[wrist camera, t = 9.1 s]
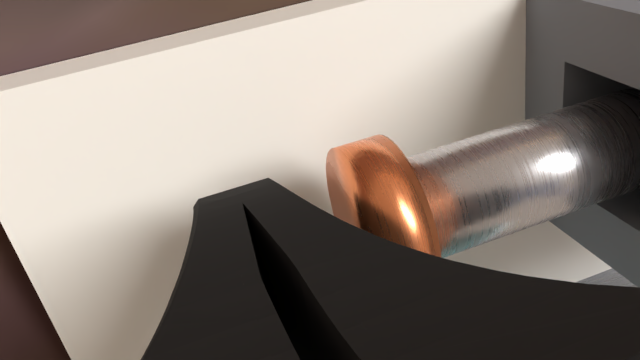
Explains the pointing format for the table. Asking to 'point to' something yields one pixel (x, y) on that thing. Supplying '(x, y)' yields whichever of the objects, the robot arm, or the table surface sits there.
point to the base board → (241, 142)
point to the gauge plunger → (489, 177)
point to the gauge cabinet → (582, 85)
